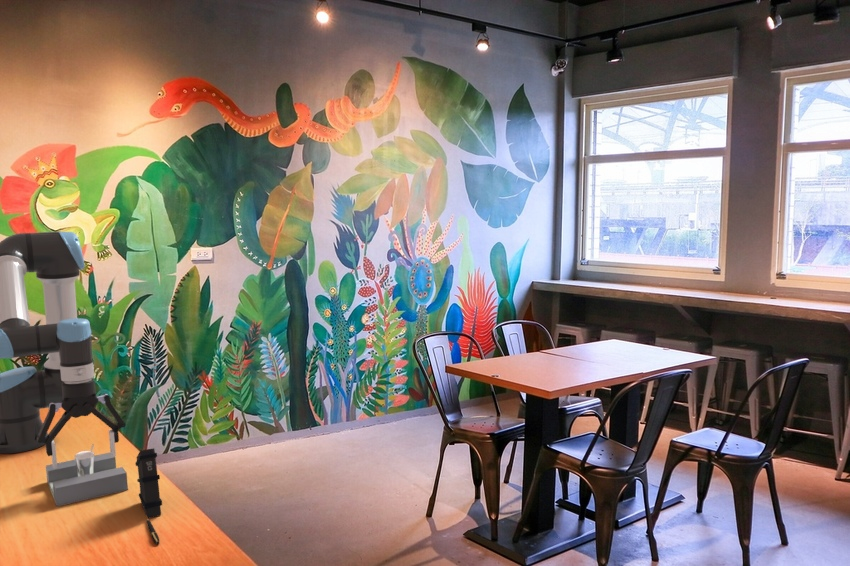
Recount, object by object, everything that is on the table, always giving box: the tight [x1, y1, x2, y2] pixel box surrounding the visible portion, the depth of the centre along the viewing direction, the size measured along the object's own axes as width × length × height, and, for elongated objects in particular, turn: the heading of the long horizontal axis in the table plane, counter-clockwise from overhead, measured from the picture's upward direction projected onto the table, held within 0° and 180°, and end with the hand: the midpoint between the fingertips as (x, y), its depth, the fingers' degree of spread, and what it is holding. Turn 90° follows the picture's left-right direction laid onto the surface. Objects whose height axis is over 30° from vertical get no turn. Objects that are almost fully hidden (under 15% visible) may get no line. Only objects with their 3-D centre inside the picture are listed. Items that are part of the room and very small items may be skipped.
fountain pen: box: [145, 518, 160, 545], centre depth 152 cm, size 14×1×2 cm, turn 31°
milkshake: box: [74, 443, 95, 476], centre depth 179 cm, size 5×5×10 cm
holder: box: [45, 452, 129, 507], centre depth 179 cm, size 19×16×4 cm
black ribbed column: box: [134, 447, 163, 519], centre depth 164 cm, size 4×13×15 cm, turn 29°
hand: (84, 461), depth 179 cm, fingers open, 13 cm apart
